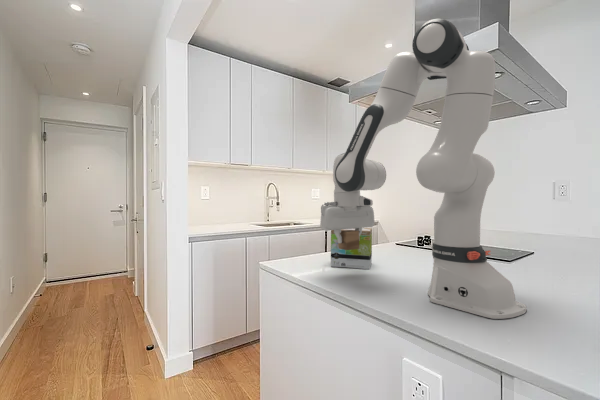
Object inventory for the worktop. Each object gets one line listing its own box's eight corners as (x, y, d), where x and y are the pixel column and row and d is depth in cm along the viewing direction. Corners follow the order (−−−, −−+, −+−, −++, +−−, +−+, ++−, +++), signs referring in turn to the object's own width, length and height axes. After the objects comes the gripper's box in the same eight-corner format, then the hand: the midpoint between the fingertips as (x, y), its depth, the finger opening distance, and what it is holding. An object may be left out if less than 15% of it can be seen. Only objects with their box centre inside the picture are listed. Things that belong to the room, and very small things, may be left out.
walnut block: (359, 248, 104) (358, 230, 105) (347, 250, 102) (346, 231, 102) (350, 247, 109) (349, 230, 109) (338, 248, 107) (337, 230, 107)
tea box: (330, 267, 119) (330, 229, 119) (335, 262, 129) (334, 226, 129) (370, 269, 115) (370, 230, 115) (372, 264, 125) (372, 227, 124)
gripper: (326, 201, 98) (327, 245, 98) (376, 200, 108) (378, 240, 107) (316, 202, 104) (317, 243, 104) (364, 201, 113) (366, 239, 113)
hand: (348, 242), depth 106 cm, fingers closed on walnut block, 5 cm apart
